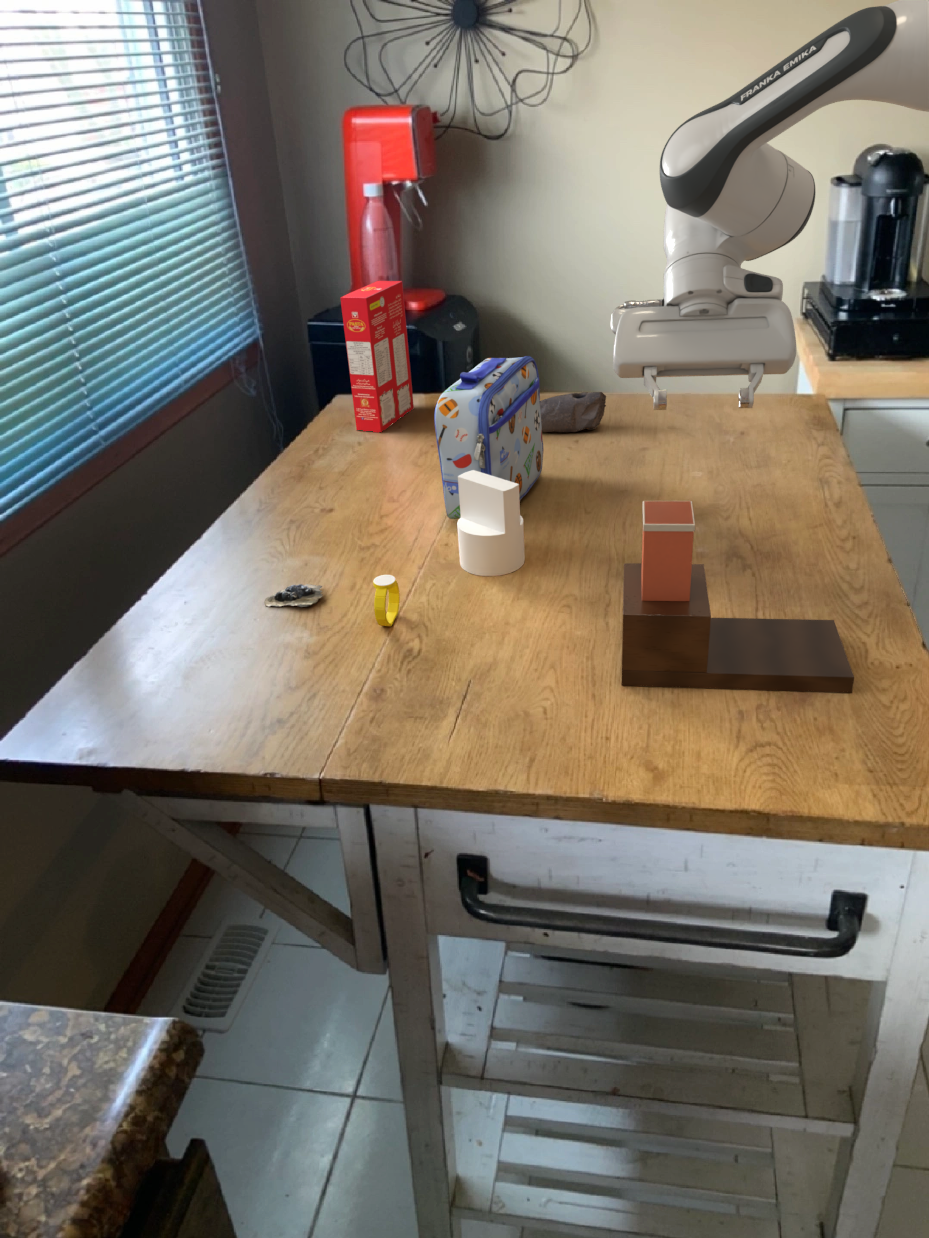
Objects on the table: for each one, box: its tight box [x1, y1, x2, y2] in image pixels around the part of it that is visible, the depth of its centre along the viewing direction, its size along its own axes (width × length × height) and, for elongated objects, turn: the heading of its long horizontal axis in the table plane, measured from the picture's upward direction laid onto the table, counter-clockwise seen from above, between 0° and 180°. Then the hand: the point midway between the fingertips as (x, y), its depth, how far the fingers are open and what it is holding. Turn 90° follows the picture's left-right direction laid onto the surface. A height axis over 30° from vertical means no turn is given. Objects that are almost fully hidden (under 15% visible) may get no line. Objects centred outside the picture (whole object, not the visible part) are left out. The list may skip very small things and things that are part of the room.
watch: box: [372, 574, 401, 627], centre depth 120 cm, size 6×3×6 cm, turn 167°
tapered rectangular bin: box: [641, 500, 696, 601], centre depth 104 cm, size 5×6×9 cm
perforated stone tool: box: [540, 391, 607, 433], centre depth 178 cm, size 15×5×7 cm, turn 87°
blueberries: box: [263, 583, 324, 608], centre depth 128 cm, size 7×8×2 cm
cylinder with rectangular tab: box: [456, 470, 526, 577], centre depth 132 cm, size 9×9×12 cm
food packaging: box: [340, 280, 415, 433], centre depth 186 cm, size 15×5×25 cm, turn 157°
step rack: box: [620, 562, 855, 694], centre depth 107 cm, size 24×12×9 cm, turn 81°
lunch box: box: [433, 355, 544, 520], centre depth 147 cm, size 28×10×22 cm, turn 161°
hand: (702, 407), depth 109 cm, fingers open, 8 cm apart
